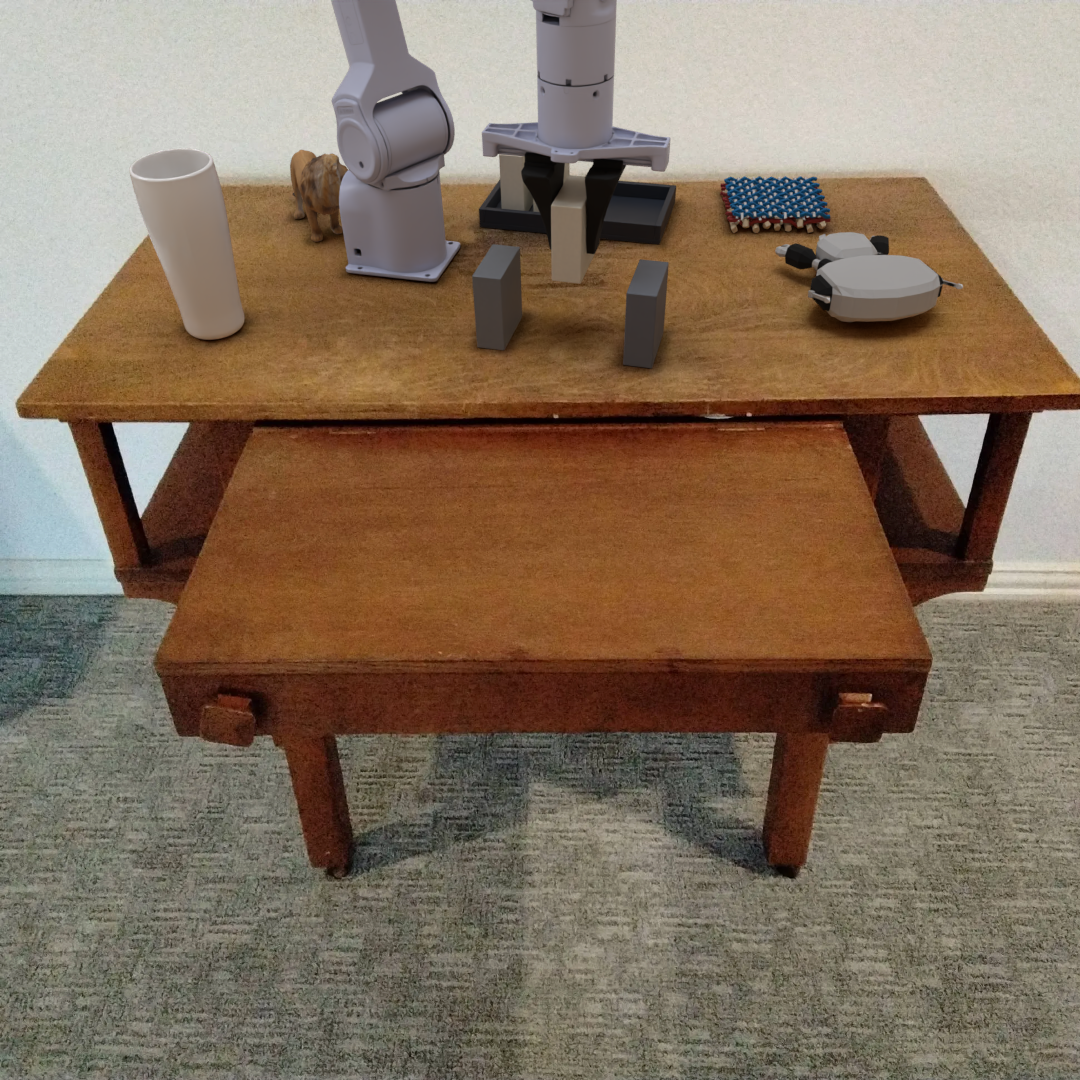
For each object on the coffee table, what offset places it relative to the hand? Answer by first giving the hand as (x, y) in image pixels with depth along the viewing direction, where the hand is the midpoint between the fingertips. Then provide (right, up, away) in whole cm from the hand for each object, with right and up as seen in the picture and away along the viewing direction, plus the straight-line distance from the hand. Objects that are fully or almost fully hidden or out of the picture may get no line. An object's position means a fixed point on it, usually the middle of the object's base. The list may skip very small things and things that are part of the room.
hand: (574, 246), depth 81 cm
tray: (+1, +10, +23) cm, 26 cm away
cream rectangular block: (0, -1, +1) cm, 2 cm away
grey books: (0, -7, +5) cm, 8 cm away
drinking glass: (-32, -5, +8) cm, 34 cm away
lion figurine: (-26, +9, +23) cm, 36 cm away
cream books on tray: (-3, +12, +24) cm, 27 cm away
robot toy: (+26, -2, +9) cm, 28 cm away
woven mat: (+22, +10, +23) cm, 34 cm away
